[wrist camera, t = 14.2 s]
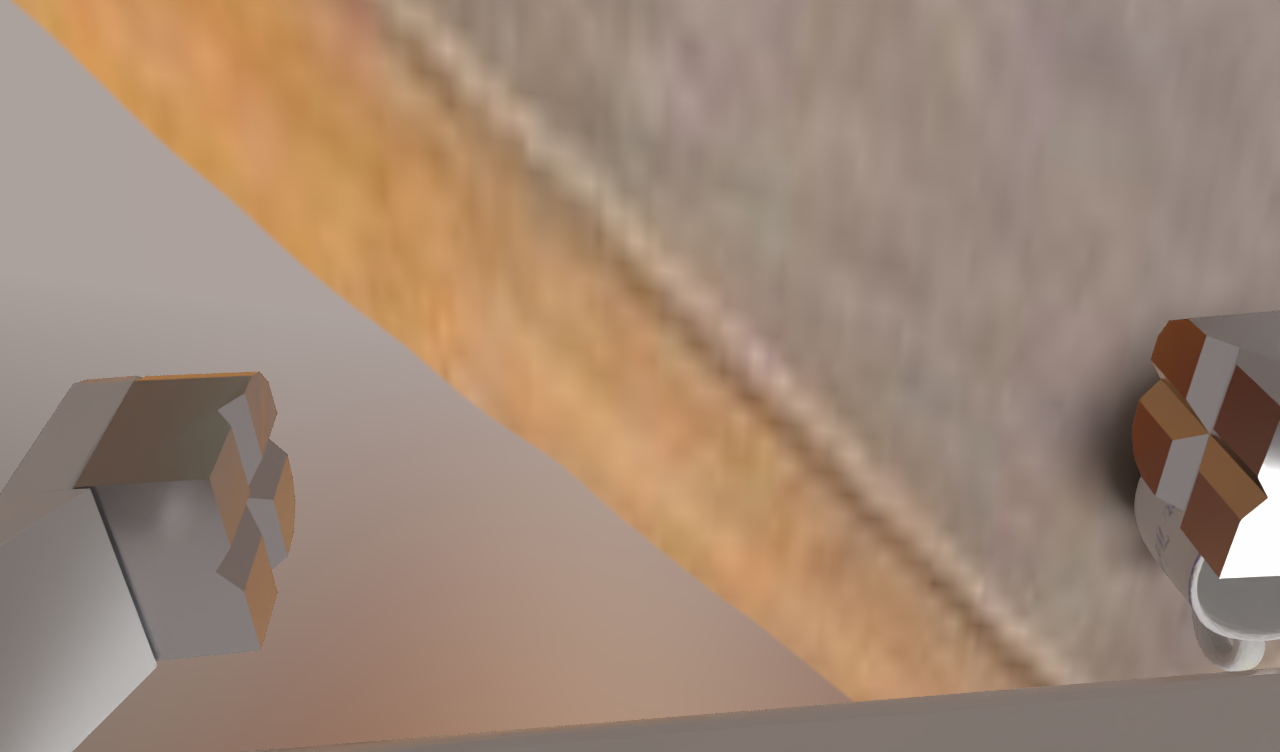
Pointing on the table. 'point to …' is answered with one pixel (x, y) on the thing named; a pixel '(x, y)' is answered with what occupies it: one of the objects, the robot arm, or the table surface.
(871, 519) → the table surface
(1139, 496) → the teacup
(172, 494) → the robot arm
